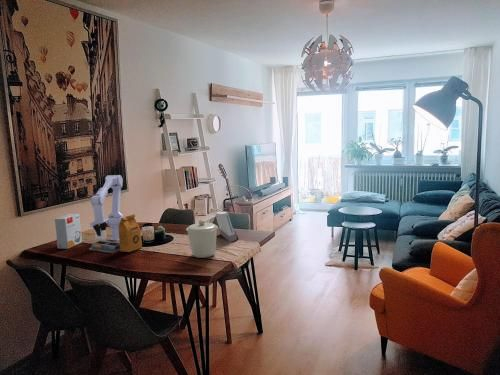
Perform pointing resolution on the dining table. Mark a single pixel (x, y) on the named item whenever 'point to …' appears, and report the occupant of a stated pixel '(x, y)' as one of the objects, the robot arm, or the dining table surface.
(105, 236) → the white rectangular block
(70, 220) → the hard drive box
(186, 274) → the dining table surface
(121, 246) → the coffee package
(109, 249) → the frame
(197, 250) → the canister
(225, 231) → the gaming console
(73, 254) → the dining table surface
